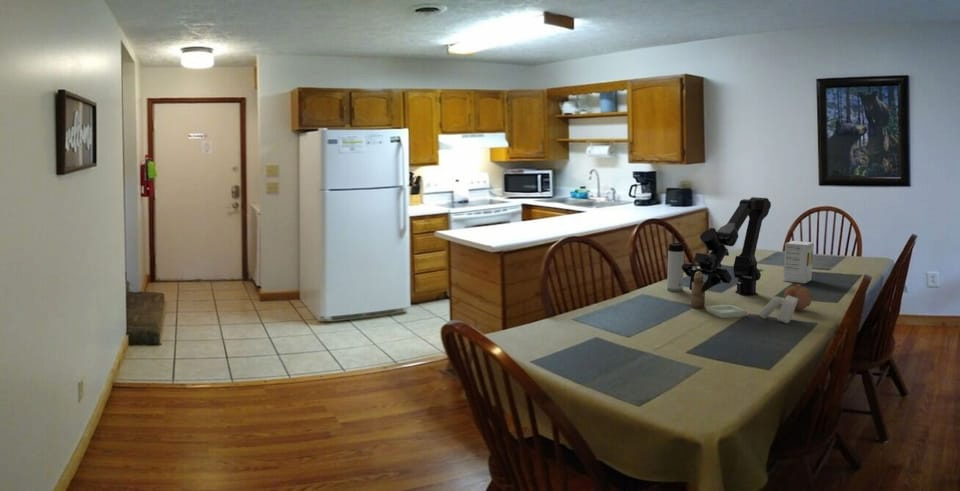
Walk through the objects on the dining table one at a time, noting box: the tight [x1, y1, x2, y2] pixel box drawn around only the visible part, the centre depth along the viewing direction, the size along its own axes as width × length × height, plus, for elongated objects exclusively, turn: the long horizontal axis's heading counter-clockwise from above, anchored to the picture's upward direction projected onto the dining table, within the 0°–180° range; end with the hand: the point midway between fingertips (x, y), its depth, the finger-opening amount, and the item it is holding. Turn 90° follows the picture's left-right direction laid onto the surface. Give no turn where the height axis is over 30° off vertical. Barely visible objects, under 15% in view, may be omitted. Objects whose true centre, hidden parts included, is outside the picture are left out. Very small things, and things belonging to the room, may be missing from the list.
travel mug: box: [666, 241, 686, 293], centre depth 285 cm, size 6×7×20 cm
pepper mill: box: [690, 271, 706, 310], centre depth 257 cm, size 5×5×14 cm
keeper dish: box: [705, 304, 748, 319], centre depth 248 cm, size 10×10×2 cm
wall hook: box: [758, 295, 798, 324], centre depth 239 cm, size 8×10×10 cm
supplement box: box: [782, 240, 815, 284], centre depth 299 cm, size 10×9×17 cm
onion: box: [783, 283, 813, 311], centre depth 251 cm, size 10×9×10 cm
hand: (696, 290), depth 256 cm, fingers closed on pepper mill, 5 cm apart
